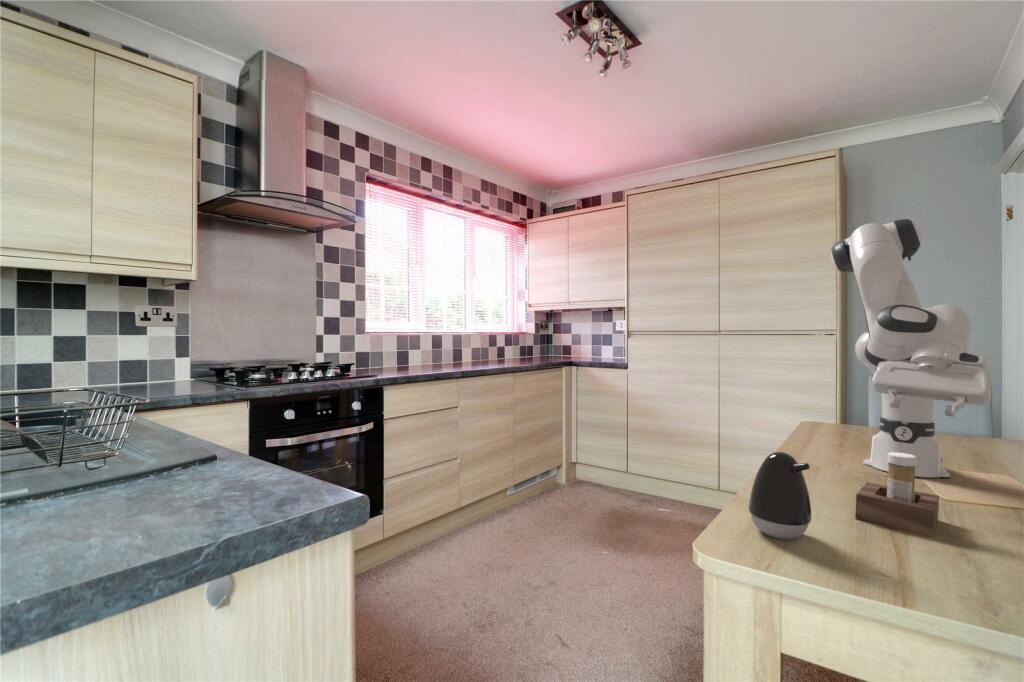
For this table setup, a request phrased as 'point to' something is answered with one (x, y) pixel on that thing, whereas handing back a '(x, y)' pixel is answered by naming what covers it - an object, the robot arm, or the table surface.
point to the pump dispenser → (780, 497)
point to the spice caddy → (897, 510)
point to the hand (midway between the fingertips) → (920, 410)
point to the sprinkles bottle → (901, 476)
